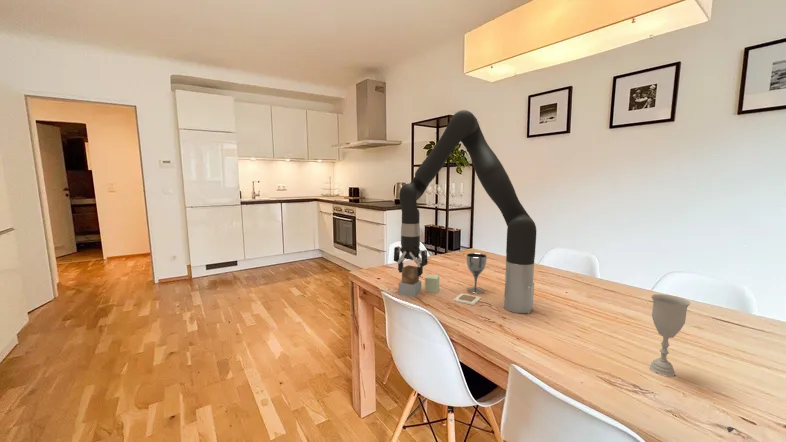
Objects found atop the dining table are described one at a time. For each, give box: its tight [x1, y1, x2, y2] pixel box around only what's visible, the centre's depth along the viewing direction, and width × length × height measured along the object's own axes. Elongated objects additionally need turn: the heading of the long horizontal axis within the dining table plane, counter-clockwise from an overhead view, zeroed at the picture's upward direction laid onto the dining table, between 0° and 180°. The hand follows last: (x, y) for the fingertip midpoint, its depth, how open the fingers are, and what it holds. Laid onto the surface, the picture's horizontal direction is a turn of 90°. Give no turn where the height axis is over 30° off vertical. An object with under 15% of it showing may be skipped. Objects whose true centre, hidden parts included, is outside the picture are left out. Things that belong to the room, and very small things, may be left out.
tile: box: [453, 293, 482, 306], centre depth 124 cm, size 8×8×1 cm
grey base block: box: [398, 279, 422, 298], centre depth 130 cm, size 7×7×5 cm
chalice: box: [649, 293, 692, 377], centre depth 77 cm, size 7×7×18 cm
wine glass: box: [466, 252, 488, 294], centre depth 133 cm, size 8×8×15 cm
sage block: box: [424, 274, 440, 294], centre depth 134 cm, size 5×5×6 cm
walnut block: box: [401, 265, 420, 285], centre depth 129 cm, size 5×5×6 cm
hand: (410, 273), depth 130 cm, fingers open, 8 cm apart
